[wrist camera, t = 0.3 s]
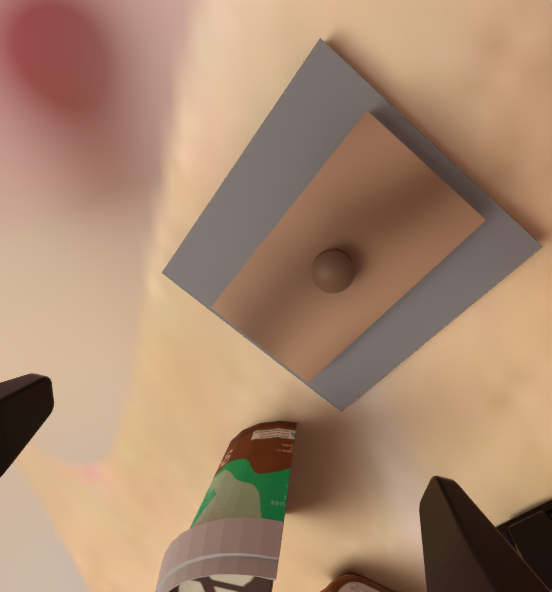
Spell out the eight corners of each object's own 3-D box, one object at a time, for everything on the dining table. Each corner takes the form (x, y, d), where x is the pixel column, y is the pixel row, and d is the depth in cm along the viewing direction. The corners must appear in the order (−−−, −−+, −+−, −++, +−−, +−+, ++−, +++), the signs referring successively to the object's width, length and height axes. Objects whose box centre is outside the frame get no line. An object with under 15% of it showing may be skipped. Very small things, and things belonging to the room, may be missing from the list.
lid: (473, 215, 16) (494, 223, 14) (309, 369, 21) (307, 391, 19) (364, 115, 15) (369, 107, 13) (218, 298, 20) (205, 313, 18)
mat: (533, 243, 17) (542, 246, 16) (340, 403, 22) (341, 411, 21) (320, 44, 15) (320, 37, 14) (167, 268, 20) (161, 272, 20)
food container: (211, 389, 23) (133, 537, 14) (299, 406, 23) (277, 571, 14) (208, 509, 28) (148, 678, 19) (281, 526, 27) (255, 709, 18)
